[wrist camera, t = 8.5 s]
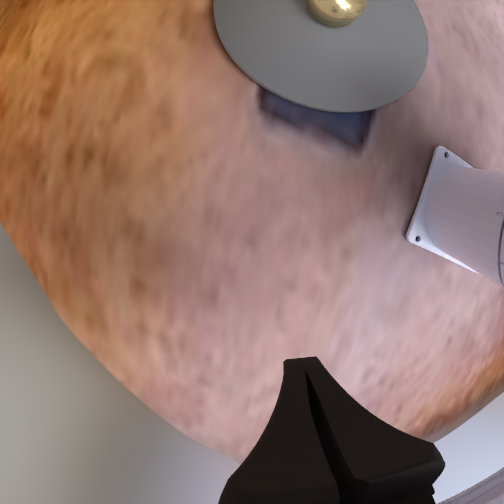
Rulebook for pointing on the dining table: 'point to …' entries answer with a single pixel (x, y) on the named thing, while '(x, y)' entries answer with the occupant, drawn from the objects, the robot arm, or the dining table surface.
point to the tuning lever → (335, 11)
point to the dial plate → (326, 52)
